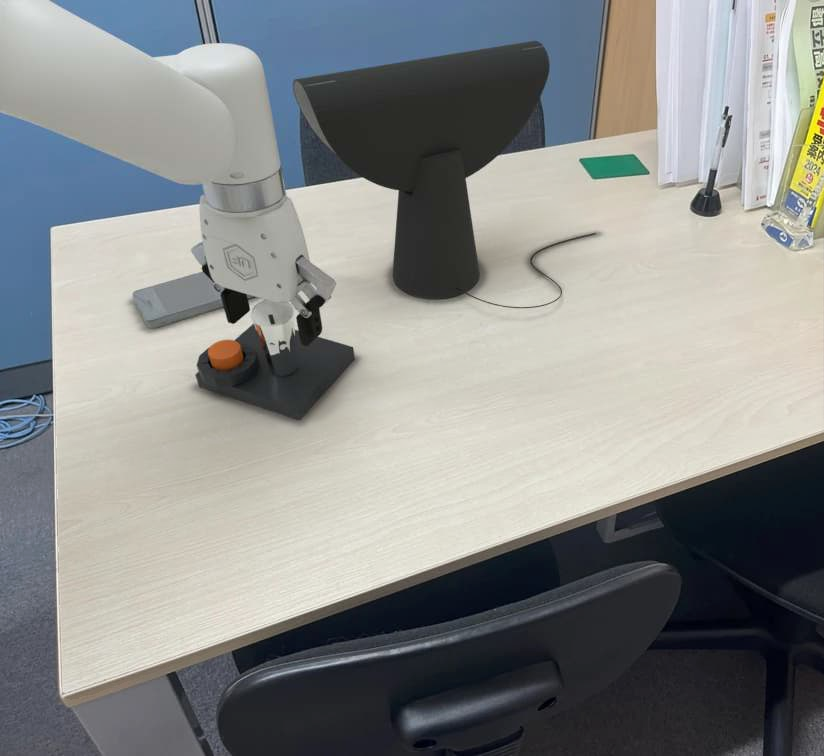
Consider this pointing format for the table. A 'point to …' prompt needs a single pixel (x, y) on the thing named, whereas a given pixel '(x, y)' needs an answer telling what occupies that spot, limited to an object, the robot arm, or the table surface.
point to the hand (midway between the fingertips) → (275, 327)
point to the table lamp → (429, 146)
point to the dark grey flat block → (278, 392)
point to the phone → (177, 299)
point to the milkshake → (277, 335)
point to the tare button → (225, 354)
